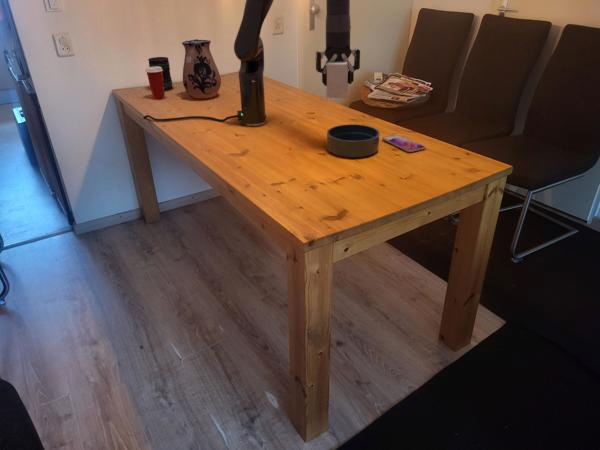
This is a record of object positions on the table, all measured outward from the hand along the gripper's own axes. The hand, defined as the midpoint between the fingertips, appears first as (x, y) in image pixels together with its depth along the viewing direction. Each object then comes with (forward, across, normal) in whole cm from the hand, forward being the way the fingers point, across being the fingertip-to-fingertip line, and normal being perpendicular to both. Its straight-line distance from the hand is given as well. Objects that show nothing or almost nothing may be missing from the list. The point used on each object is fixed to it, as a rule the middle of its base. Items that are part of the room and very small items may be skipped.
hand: (337, 84), depth 146 cm
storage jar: (+19, +69, -98) cm, 122 cm away
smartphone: (+21, -22, +4) cm, 31 cm away
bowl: (+21, -4, +5) cm, 22 cm away
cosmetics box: (+3, 0, 0) cm, 3 cm away
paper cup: (+19, +69, -80) cm, 108 cm away
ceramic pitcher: (+19, +48, -79) cm, 95 cm away
